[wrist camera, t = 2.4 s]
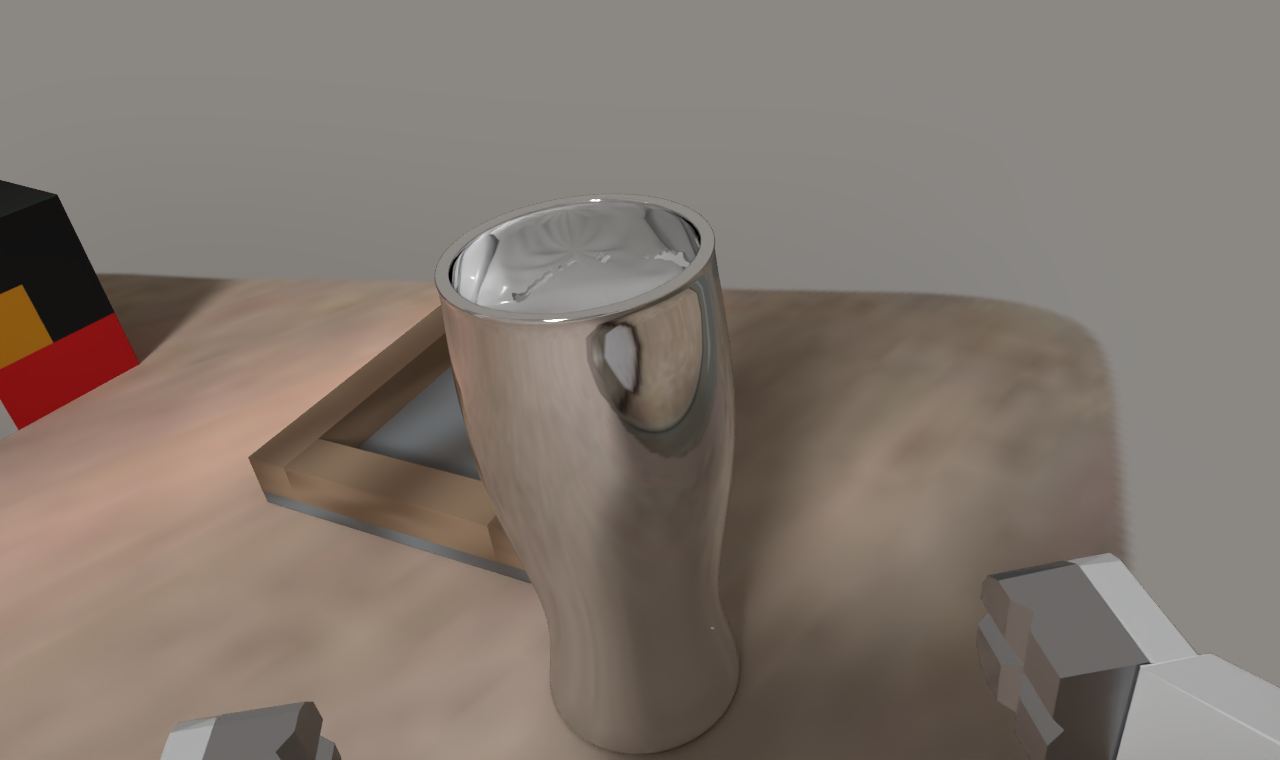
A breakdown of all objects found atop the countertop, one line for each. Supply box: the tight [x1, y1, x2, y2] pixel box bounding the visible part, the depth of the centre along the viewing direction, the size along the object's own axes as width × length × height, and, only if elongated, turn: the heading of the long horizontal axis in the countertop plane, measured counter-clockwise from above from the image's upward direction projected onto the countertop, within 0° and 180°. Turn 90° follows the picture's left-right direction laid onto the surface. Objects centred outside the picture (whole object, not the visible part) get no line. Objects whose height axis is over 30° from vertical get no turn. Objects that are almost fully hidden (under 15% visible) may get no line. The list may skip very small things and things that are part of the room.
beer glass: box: [435, 194, 739, 754], centre depth 26 cm, size 7×7×15 cm
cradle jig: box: [248, 305, 531, 583], centre depth 41 cm, size 14×14×2 cm
